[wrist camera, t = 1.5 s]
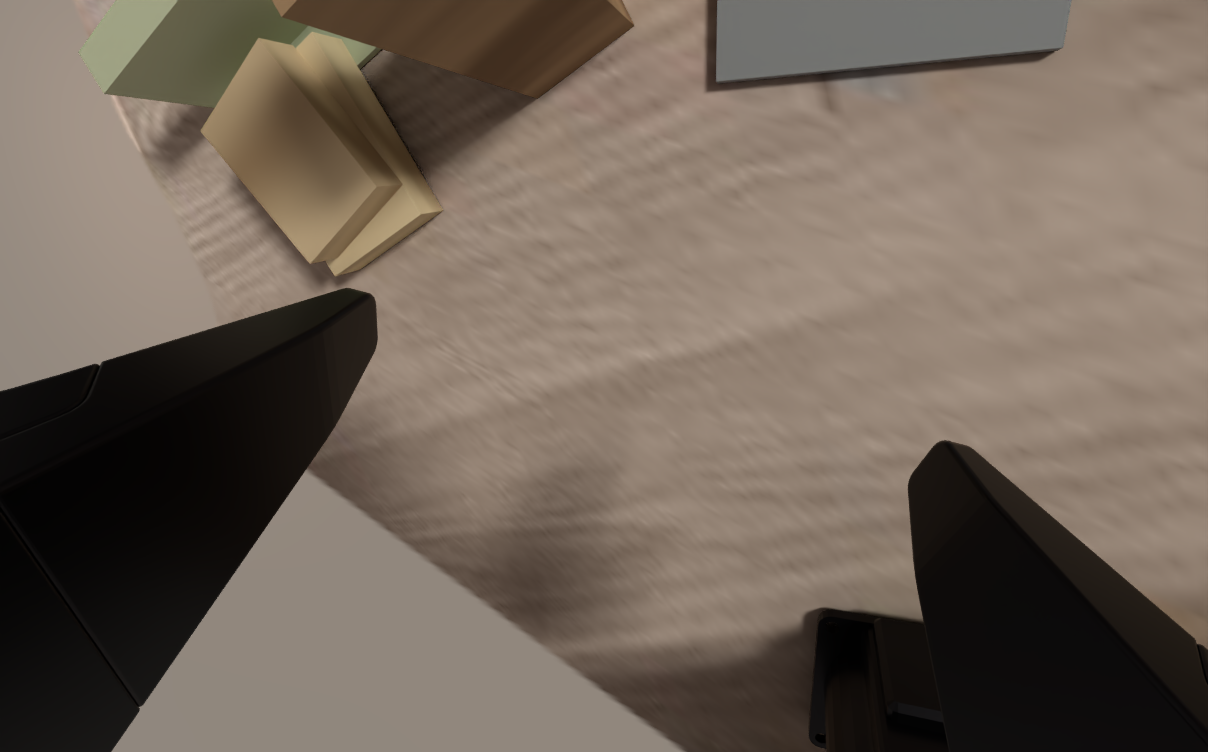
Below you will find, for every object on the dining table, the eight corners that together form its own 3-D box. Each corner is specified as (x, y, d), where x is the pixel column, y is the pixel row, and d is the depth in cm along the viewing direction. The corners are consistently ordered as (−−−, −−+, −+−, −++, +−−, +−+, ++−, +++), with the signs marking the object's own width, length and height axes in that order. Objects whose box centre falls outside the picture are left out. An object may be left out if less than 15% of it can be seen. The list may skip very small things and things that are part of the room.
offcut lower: (443, 210, 23) (421, 214, 21) (359, 269, 25) (335, 276, 23) (341, 39, 22) (311, 31, 20) (263, 116, 24) (230, 114, 22)
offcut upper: (403, 184, 21) (376, 186, 20) (337, 257, 23) (309, 264, 22) (293, 45, 21) (258, 37, 19) (235, 132, 22) (200, 131, 21)
